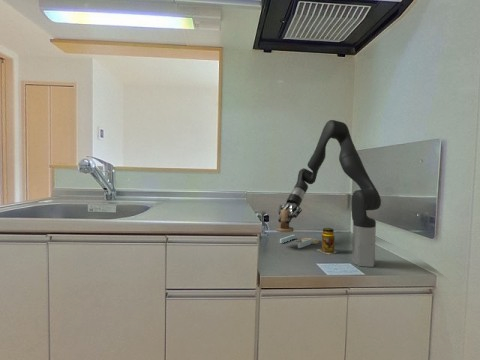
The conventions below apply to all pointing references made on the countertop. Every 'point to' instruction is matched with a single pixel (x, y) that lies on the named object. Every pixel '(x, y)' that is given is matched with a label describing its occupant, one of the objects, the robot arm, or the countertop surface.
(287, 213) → the wooden peg stand
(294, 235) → the pale blue rack
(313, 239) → the coaster
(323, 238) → the condiment
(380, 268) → the countertop surface
